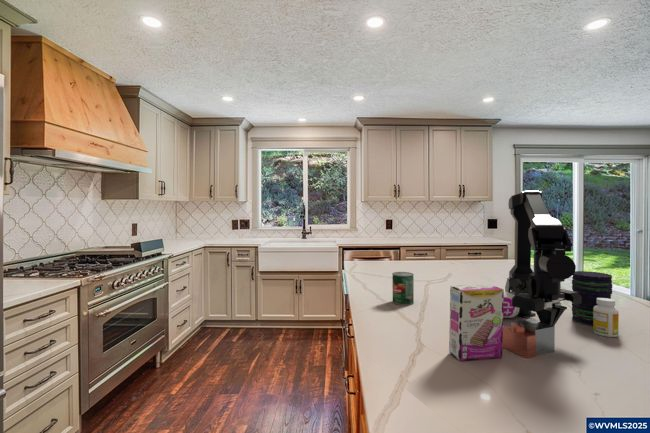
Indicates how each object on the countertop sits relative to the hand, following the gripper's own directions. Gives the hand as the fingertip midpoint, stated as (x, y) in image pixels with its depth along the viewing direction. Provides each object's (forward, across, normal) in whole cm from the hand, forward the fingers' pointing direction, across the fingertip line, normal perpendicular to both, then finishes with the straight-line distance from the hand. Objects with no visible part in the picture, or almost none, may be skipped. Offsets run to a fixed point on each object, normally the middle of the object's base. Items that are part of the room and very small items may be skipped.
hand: (546, 332), depth 85 cm
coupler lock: (+3, +5, 0) cm, 6 cm away
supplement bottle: (+4, -23, +1) cm, 23 cm away
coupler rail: (+3, +5, 0) cm, 6 cm away
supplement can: (-1, +1, -25) cm, 25 cm away
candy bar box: (+3, +22, -2) cm, 22 cm away
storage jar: (+4, -31, -7) cm, 32 cm away
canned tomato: (+3, +10, -48) cm, 49 cm away
